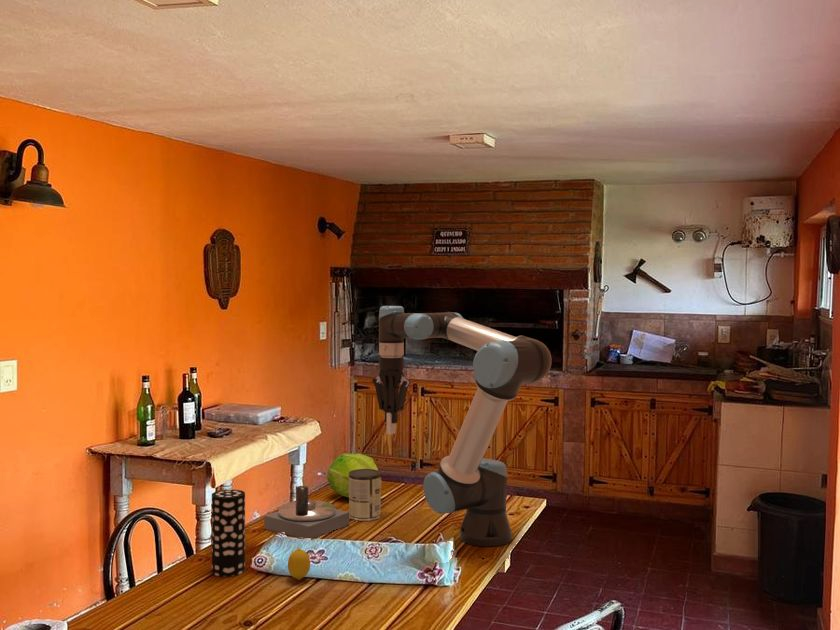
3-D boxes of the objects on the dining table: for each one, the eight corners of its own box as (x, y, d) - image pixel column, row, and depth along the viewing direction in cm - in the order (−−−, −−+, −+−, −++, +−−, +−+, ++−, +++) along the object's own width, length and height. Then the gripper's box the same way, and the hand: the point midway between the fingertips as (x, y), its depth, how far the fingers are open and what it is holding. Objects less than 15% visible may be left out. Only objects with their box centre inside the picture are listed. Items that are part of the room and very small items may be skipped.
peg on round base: (287, 504, 253) (287, 474, 252) (340, 506, 251) (340, 475, 251) (271, 520, 236) (271, 488, 236) (328, 522, 234) (329, 490, 234)
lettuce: (358, 514, 265) (358, 470, 262) (318, 496, 278) (317, 455, 275) (393, 498, 278) (393, 457, 275) (353, 482, 291) (353, 442, 288)
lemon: (285, 577, 202) (285, 546, 202) (307, 575, 204) (307, 543, 204) (290, 585, 197) (290, 553, 197) (312, 582, 199) (312, 550, 199)
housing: (349, 525, 246) (349, 512, 246) (308, 540, 231) (308, 526, 231) (305, 514, 256) (305, 502, 256) (264, 528, 242) (264, 515, 241)
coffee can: (351, 511, 261) (351, 468, 260) (383, 512, 260) (383, 469, 259) (345, 520, 251) (345, 475, 250) (378, 521, 250) (378, 476, 249)
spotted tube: (251, 568, 208) (251, 492, 207) (228, 579, 201) (228, 499, 200) (228, 562, 212) (228, 487, 211) (204, 572, 205) (204, 495, 204)
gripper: (366, 356, 245) (366, 433, 246) (401, 358, 238) (401, 437, 239) (381, 354, 252) (381, 429, 253) (415, 356, 244) (415, 434, 245)
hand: (391, 433), depth 246 cm, fingers closed
